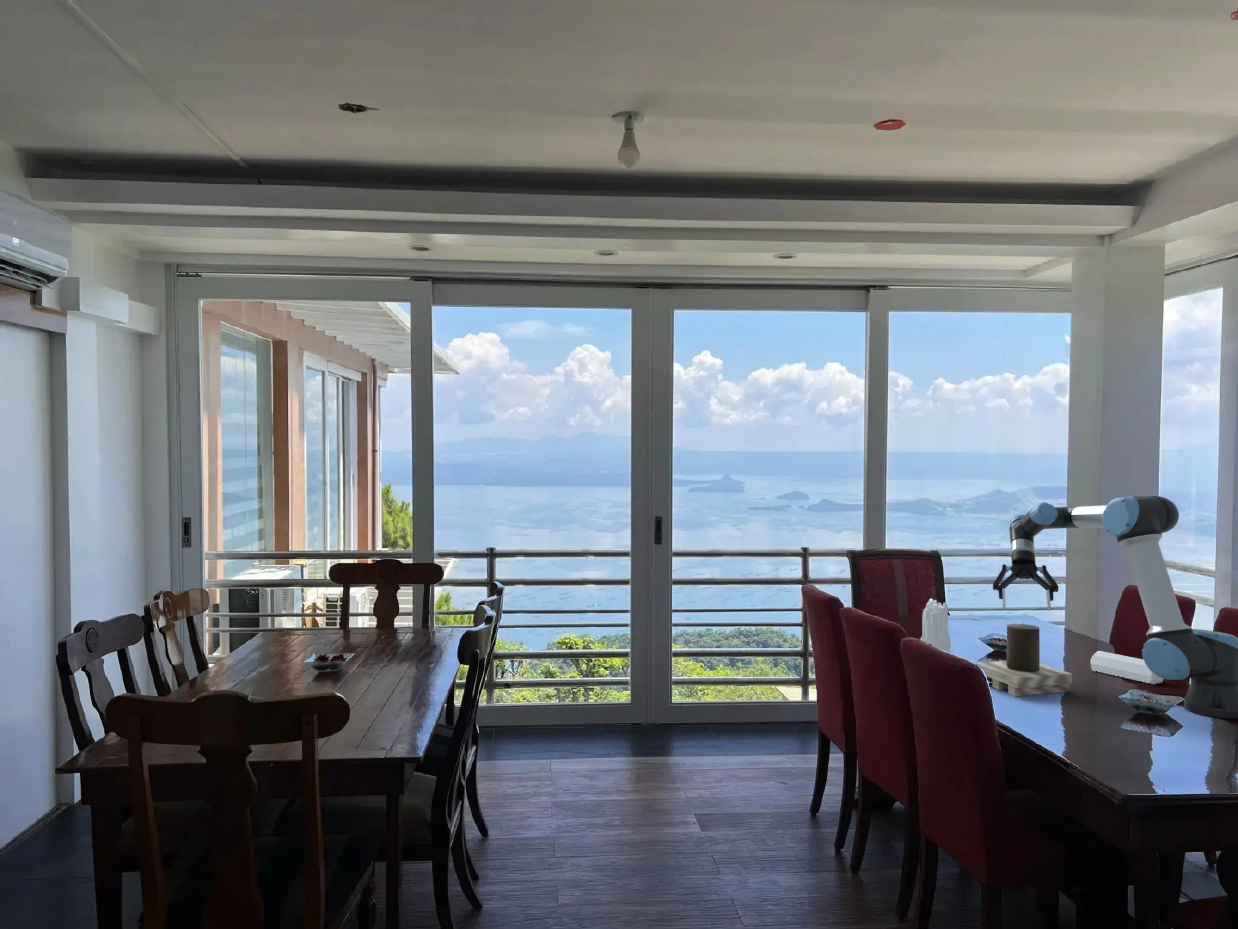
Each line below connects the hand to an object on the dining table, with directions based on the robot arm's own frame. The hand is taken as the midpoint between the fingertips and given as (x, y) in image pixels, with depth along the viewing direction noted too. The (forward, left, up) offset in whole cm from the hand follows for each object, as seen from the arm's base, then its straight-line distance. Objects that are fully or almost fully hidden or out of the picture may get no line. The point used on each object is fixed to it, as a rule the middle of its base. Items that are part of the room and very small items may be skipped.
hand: (1026, 607), depth 280 cm
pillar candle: (+8, +8, -18) cm, 21 cm away
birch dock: (+8, +8, -24) cm, 27 cm away
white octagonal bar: (-34, +6, -24) cm, 42 cm away
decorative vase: (+23, -17, -24) cm, 38 cm away
